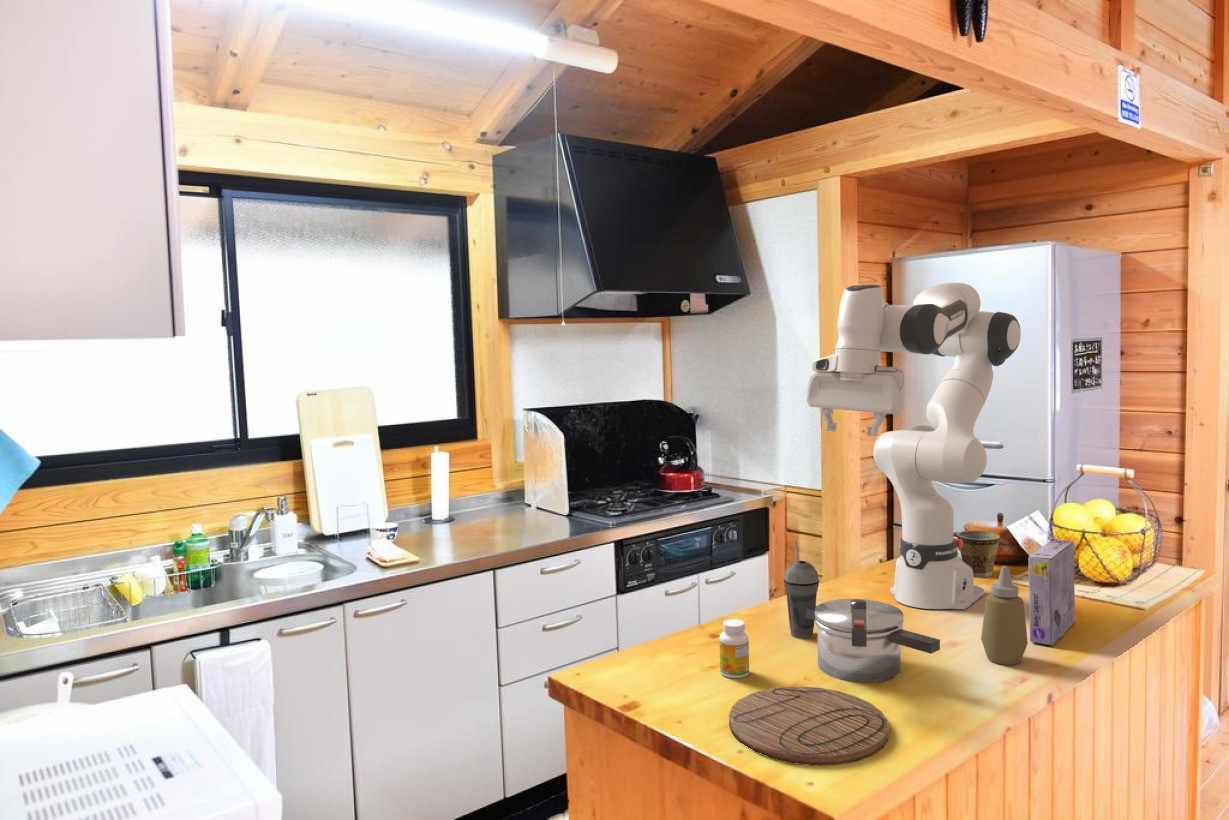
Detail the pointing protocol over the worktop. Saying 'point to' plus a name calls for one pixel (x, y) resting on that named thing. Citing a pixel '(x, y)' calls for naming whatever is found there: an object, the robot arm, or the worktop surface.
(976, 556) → the ceramic cup
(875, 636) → the pot
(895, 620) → the lid
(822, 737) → the trivet
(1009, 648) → the squeeze bottle
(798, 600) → the beverage cup
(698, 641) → the worktop surface
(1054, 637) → the cake pan box
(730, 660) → the supplement bottle
